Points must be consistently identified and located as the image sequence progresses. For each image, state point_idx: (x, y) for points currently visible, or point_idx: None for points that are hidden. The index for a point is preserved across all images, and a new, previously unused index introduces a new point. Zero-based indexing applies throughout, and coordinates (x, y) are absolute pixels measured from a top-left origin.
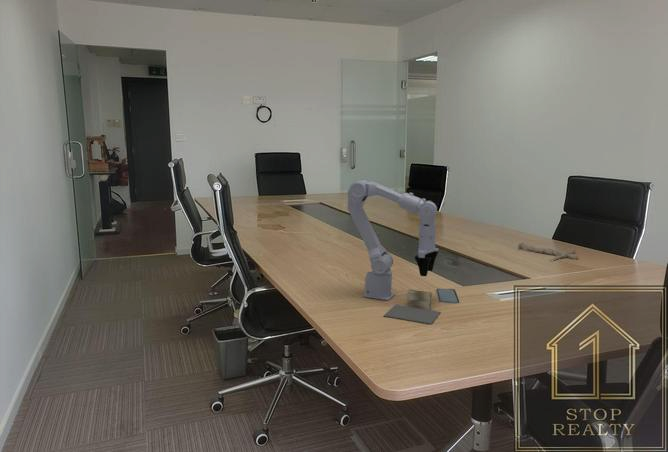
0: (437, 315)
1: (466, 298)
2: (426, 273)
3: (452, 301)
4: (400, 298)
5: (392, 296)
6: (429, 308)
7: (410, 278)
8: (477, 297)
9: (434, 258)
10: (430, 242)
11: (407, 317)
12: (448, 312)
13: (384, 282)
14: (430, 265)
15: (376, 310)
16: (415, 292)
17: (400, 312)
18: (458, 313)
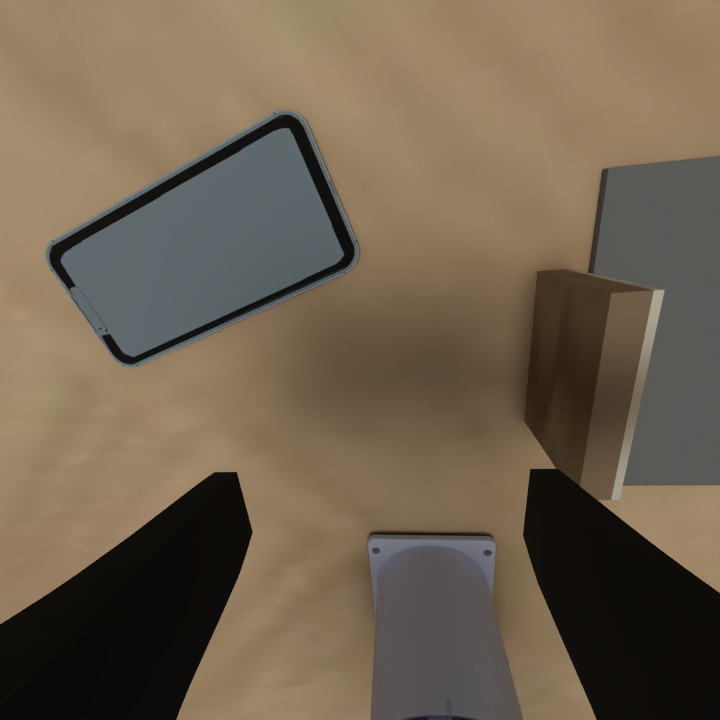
0: (715, 159)
1: (143, 97)
2: (591, 498)
3: (300, 172)
4: (412, 493)
5: (416, 535)
6: (579, 271)
7: (55, 541)
8: (52, 8)
9: (32, 686)
10: None
11: None
12: (565, 111)
13: (504, 672)
14: (195, 559)
15: (684, 538)
16: (628, 432)
17: (716, 419)
18: (559, 11)
